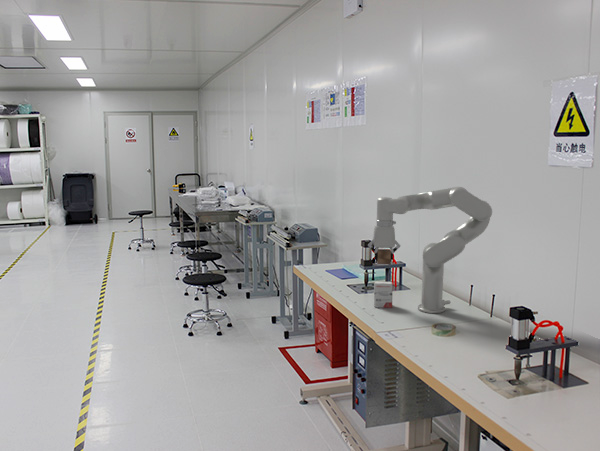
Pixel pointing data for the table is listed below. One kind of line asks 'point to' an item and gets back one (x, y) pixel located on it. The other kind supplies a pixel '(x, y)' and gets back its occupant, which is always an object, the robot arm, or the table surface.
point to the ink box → (383, 294)
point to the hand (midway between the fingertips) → (383, 260)
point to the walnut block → (384, 256)
